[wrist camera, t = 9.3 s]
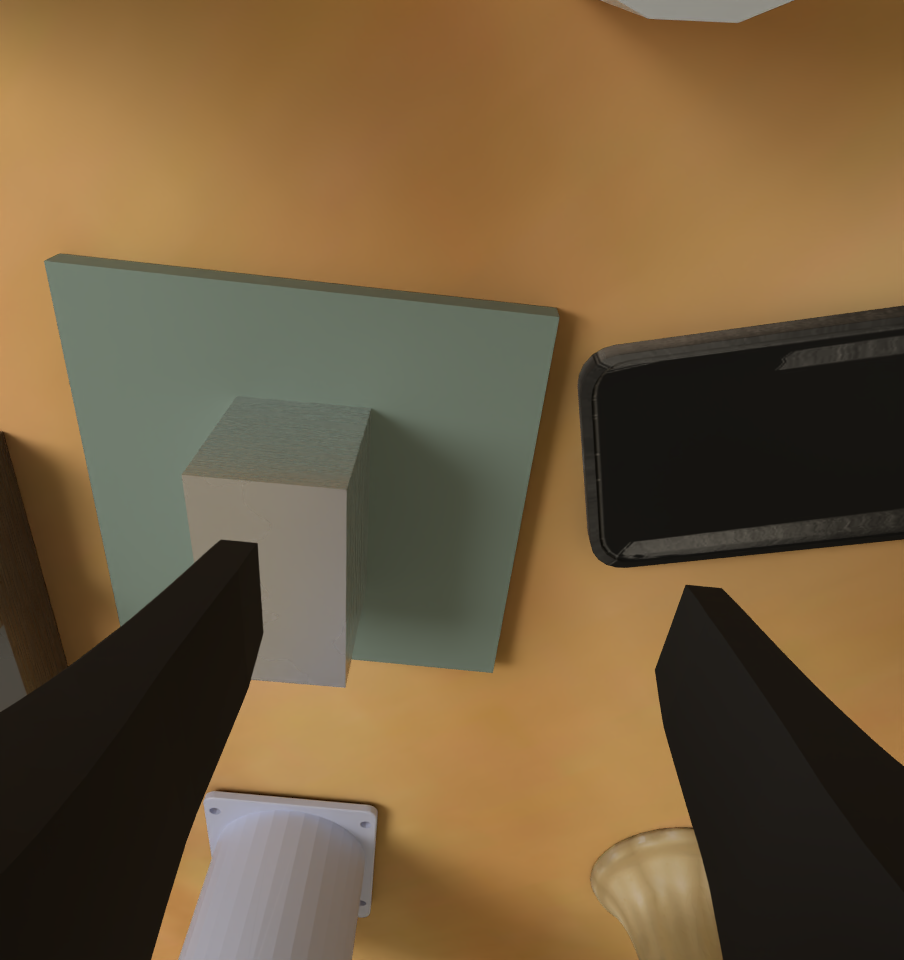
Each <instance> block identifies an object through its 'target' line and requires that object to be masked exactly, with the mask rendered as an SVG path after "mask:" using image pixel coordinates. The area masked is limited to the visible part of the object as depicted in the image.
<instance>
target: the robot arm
mask: <svg viewBox="0 0 904 960" xmlns="http://www.w3.org/2000/svg"><path fill="white" fill-rule="evenodd" d="M263 633H264V631H263V616H262V601H261V586H260V571H259V556H258V543H253V542H243V541H232V540H222V539H221V540H220V541H218V542H217V543H216V544H215V545H213V546H212V547H211V548H210V549H209V550H208V551H207V552H206V553H204V554H203V555H202V556H201V557H200V558H199V559H198V560H197V561H196V562H195V563H193V564H192V565H191V566H190V567H189V568H188V569H187V570H186V571H185V572H184V573H182V574H181V575H180V576H179V577H178V578H177V579H176V580H175V581H173V582H172V583H171V584H170V585H169V586H168V587H167V588H166V589H164V590H163V591H162V592H161V593H160V594H159V595H158V596H156V597H155V598H154V599H153V600H152V601H151V602H149V603H148V604H147V605H146V606H145V607H143V608H142V609H141V610H140V611H139V612H138V613H136V614H135V615H134V616H133V617H132V618H131V619H129V620H128V621H127V622H126V623H124V624H123V625H122V626H121V627H120V628H118V629H117V630H116V631H114V632H113V633H112V634H111V635H109V636H108V637H107V638H105V639H104V640H103V641H102V642H100V643H99V644H98V645H96V646H95V647H94V648H92V649H91V650H90V651H89V652H87V653H86V654H85V655H83V656H82V657H81V658H80V659H78V660H77V661H75V662H74V663H73V664H71V665H70V666H69V667H67V668H66V669H64V670H63V671H62V672H60V673H59V674H57V675H56V676H55V677H53V678H52V679H50V680H49V681H47V682H46V683H44V684H43V685H42V686H40V687H39V688H37V689H35V690H34V691H32V692H31V693H29V694H28V695H26V696H25V697H23V698H22V699H20V700H19V701H17V702H16V703H14V704H12V705H11V706H9V707H8V708H6V709H4V710H3V711H1V712H0V960H151V958H152V954H153V951H154V947H155V944H156V940H157V937H158V934H159V930H160V927H161V923H162V920H163V916H164V913H165V910H166V906H167V903H168V900H169V896H170V893H171V890H172V887H173V883H174V880H175V877H176V874H177V870H178V867H179V864H180V861H181V857H182V854H183V851H184V848H185V844H186V841H187V838H188V836H189V833H190V830H191V828H192V825H193V822H194V819H195V817H196V814H197V811H198V809H199V807H200V804H201V802H202V799H203V797H204V795H205V792H206V790H207V787H208V785H209V783H210V780H211V778H212V775H213V773H214V771H215V768H216V766H217V763H218V761H219V758H220V756H221V754H222V751H223V749H224V746H225V744H226V742H227V739H228V737H229V734H230V732H231V730H232V727H233V725H234V722H235V720H236V717H237V715H238V713H239V710H240V708H241V705H242V703H243V700H244V698H245V695H246V693H247V690H248V688H249V684H250V681H251V677H252V674H253V670H254V667H255V663H256V660H257V656H258V652H259V648H260V645H261V641H262V637H263ZM655 674H656V681H657V688H658V695H659V702H660V708H661V714H662V720H663V725H664V729H665V733H666V737H667V740H668V744H669V747H670V751H671V754H672V758H673V761H674V765H675V768H676V772H677V775H678V779H679V782H680V785H681V789H682V792H683V796H684V799H685V802H686V806H687V809H688V813H689V816H690V819H691V823H692V826H693V830H694V833H695V836H696V840H697V843H698V846H699V850H700V853H701V857H702V861H703V865H704V869H705V873H706V877H707V881H708V885H709V889H710V894H711V899H712V905H713V910H714V915H715V920H716V925H717V931H718V936H719V941H720V946H721V952H722V957H723V960H904V766H903V765H902V764H900V763H899V762H898V761H897V760H895V759H894V758H893V757H892V756H891V755H890V754H888V753H887V752H886V751H885V750H884V749H883V748H882V747H880V746H879V745H878V744H877V743H876V742H875V741H874V740H872V739H871V738H870V737H869V736H868V735H867V734H866V733H865V732H864V731H863V730H862V729H861V728H859V727H858V726H857V725H856V724H855V723H854V722H853V721H852V720H851V719H850V718H849V717H848V716H846V715H845V714H844V713H843V712H842V711H841V710H840V709H839V708H838V707H837V706H836V705H835V704H834V703H833V702H832V701H831V700H830V699H829V698H828V697H827V696H826V695H825V694H823V693H822V692H821V691H820V690H819V689H818V688H817V687H816V686H815V685H814V684H813V683H812V682H811V681H810V680H809V679H808V678H807V677H806V676H805V675H804V674H803V673H802V671H801V670H800V669H799V668H798V667H797V666H796V665H795V664H794V663H793V662H792V661H791V660H790V659H789V658H788V657H787V656H786V655H785V654H784V653H783V652H782V651H781V650H780V649H779V648H778V647H777V646H776V644H775V643H774V642H773V641H772V640H771V639H770V638H769V637H768V636H767V635H766V634H765V633H764V632H763V631H762V630H761V629H760V628H759V626H758V625H757V624H756V623H755V622H754V621H753V620H752V619H751V618H750V617H749V616H748V615H747V614H746V613H745V612H744V611H743V609H742V608H741V607H740V606H739V605H738V604H737V603H736V602H735V601H734V600H733V599H732V598H731V597H730V596H729V595H728V594H727V593H726V592H725V591H724V590H723V589H722V588H714V587H703V586H693V585H686V586H685V588H684V591H683V594H682V597H681V599H680V602H679V605H678V608H677V610H676V613H675V616H674V619H673V622H672V624H671V627H670V630H669V633H668V635H667V638H666V641H665V644H664V646H663V649H662V652H661V655H660V657H659V660H658V663H657V666H656V668H655ZM204 809H205V816H206V823H207V829H208V836H209V843H210V849H211V856H212V860H211V863H210V866H209V869H208V872H207V875H206V878H205V881H204V884H203V887H202V890H201V893H200V896H199V899H198V902H197V905H196V908H195V911H194V914H193V917H192V920H191V923H190V926H189V929H188V932H187V935H186V938H185V941H184V944H183V947H182V950H181V953H180V956H179V959H178V960H352V955H353V947H354V940H355V933H356V926H357V919H358V917H367V916H368V915H369V914H370V911H371V899H372V886H373V872H374V858H375V845H376V831H377V817H378V811H377V809H376V808H375V807H373V806H371V805H364V804H353V803H342V802H331V801H320V800H309V799H298V798H287V797H276V796H265V795H254V794H243V793H232V792H221V791H211V792H209V793H207V794H206V796H205V799H204Z"/></svg>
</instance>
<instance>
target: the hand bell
mask: <svg viewBox="0 0 904 960" xmlns="http://www.w3.org/2000/svg"><path fill="white" fill-rule="evenodd" d="M591 886H592V889H593V892H594V894H595V895H596V897H597V899H598V900H599V902H600V903H601V905H602V906H603V907H604V908H605V909H606V910H607V911H608V912H609V913H611V914H612V915H613V916H615V917H616V918H617V919H618V920H619V921H620V922H621V924H622V925H623V926H624V928H625V929H626V931H627V933H628V935H629V936H630V939H631V941H632V943H633V945H634V948H635V950H636V953H637V955H638V958H639V960H723V957H722V952H721V946H720V941H719V936H718V931H717V925H716V920H715V915H714V910H713V905H712V899H711V894H710V889H709V885H708V881H707V877H706V873H705V869H704V865H703V861H702V857H701V853H700V850H699V846H698V843H697V840H696V836H695V833H694V830H693V828H692V829H690V828H665V829H657V830H653V831H649V832H644V833H640V834H638V835H635V836H632V837H630V838H627V839H626V840H623V841H621V842H619V843H617V844H615V845H614V846H612V847H611V848H609V849H608V850H607V851H605V852H604V853H603V854H602V855H601V856H600V857H599V859H598V860H597V861H596V863H595V865H594V867H593V869H592V872H591Z"/></svg>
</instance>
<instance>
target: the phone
mask: <svg viewBox="0 0 904 960" xmlns="http://www.w3.org/2000/svg"><path fill="white" fill-rule="evenodd" d="M578 400H579V414H580V429H581V443H582V457H583V472H584V486H585V500H586V515H587V529H588V535H589V539H590V543H591V547H592V551H593V553H594V554H595V556H596V557H597V558H598V560H600V561H601V562H603V563H605V564H606V565H609V566H613V567H619V568H628V567H638V566H648V565H658V564H667V563H677V562H687V561H697V560H707V559H716V558H726V557H736V556H746V555H755V554H765V553H775V552H785V551H795V550H804V549H814V548H824V547H834V546H843V545H853V544H863V543H873V542H882V541H892V540H902V539H904V306H898V307H890V308H883V309H875V310H868V311H861V312H853V313H846V314H839V315H831V316H824V317H817V318H809V319H802V320H795V321H787V322H780V323H773V324H765V325H758V326H751V327H743V328H736V329H729V330H721V331H714V332H707V333H699V334H692V335H684V336H677V337H670V338H662V339H655V340H648V341H640V342H633V343H626V344H618V345H613V346H610V347H606V348H603V349H601V350H600V351H598V352H596V353H595V354H593V355H592V356H591V357H590V358H589V359H588V360H587V361H586V362H585V364H584V365H583V367H582V369H581V371H580V374H579V378H578Z"/></svg>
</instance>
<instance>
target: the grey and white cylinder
mask: <svg viewBox="0 0 904 960" xmlns="http://www.w3.org/2000/svg"><path fill="white" fill-rule="evenodd" d="M600 1H603V2H606V3H608V4H611V5H614V6H616V7H619V8H622V9H624V10H627V11H629V12H632V13H635V14H637V15H640V16H643V17H645V18H648V19H666V20H687V21H708V22H729V23H739V22H742V21H744V20H747V19H749V18H751V17H754V16H756V15H759V14H761V13H764V12H766V11H769V10H771V9H774V8H776V7H779V6H781V5H784V4H786V3H789V2H791V1H793V0H600Z"/></svg>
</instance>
